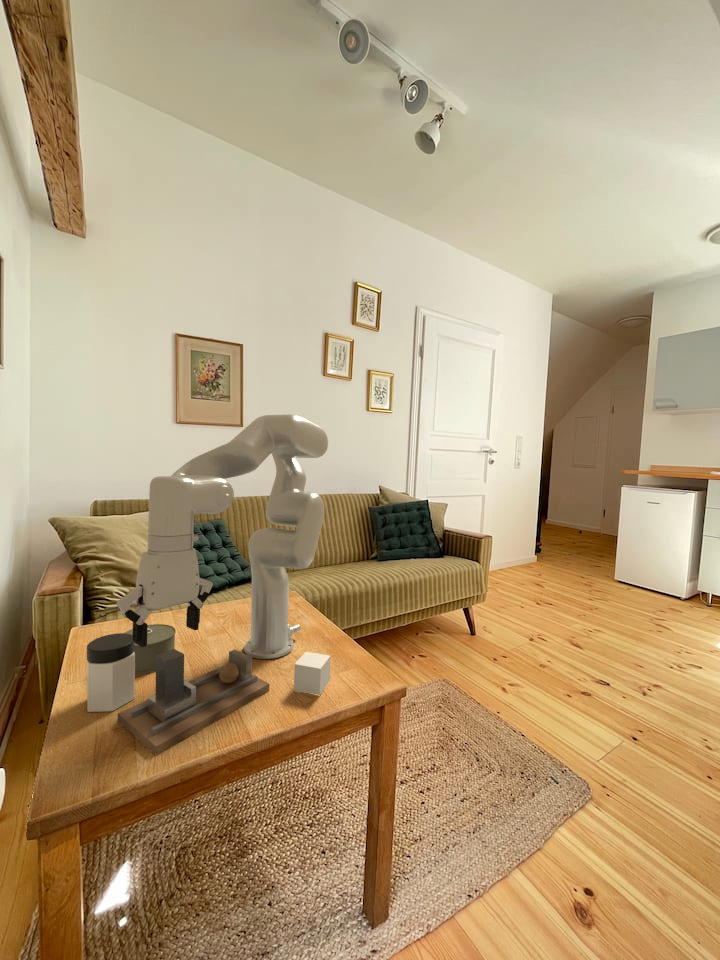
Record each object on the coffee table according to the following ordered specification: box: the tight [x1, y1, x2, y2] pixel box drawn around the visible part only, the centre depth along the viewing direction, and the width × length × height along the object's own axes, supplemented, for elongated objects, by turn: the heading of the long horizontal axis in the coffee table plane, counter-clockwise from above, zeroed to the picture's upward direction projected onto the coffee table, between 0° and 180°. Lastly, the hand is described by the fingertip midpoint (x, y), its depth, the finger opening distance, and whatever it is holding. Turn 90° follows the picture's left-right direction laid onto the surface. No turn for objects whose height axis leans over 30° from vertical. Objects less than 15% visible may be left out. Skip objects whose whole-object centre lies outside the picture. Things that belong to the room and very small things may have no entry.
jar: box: [86, 632, 136, 713], centre depth 79 cm, size 9×8×12 cm
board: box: [117, 649, 270, 756], centre depth 78 cm, size 24×14×6 cm, turn 144°
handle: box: [147, 648, 196, 722], centre depth 73 cm, size 6×6×10 cm
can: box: [124, 623, 177, 676], centre depth 94 cm, size 12×12×7 cm
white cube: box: [293, 651, 332, 695], centre depth 86 cm, size 6×6×6 cm
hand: (167, 636), depth 72 cm, fingers open, 9 cm apart
